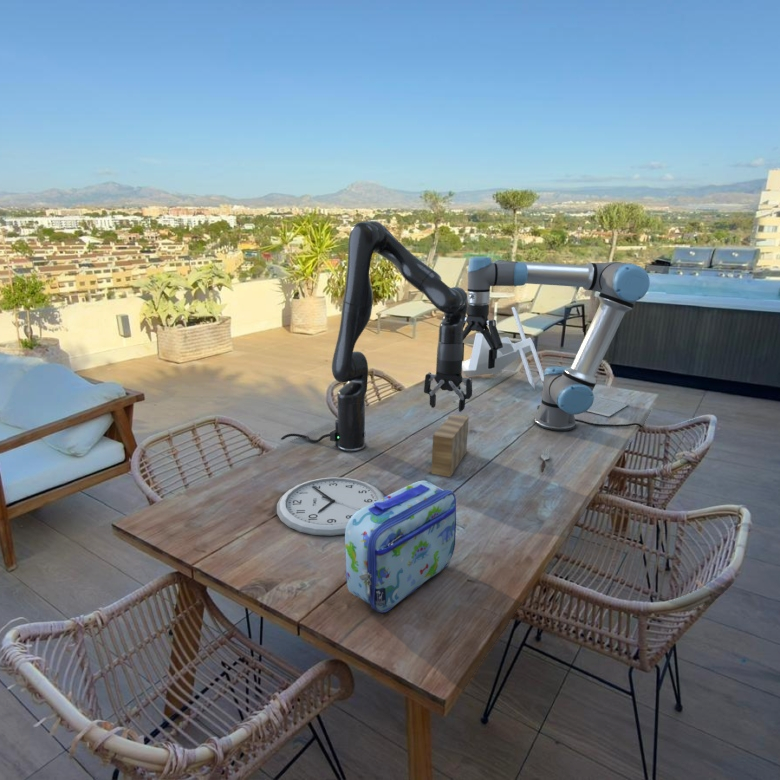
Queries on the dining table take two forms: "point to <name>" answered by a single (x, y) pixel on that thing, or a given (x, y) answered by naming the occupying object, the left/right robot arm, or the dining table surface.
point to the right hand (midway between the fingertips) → (475, 364)
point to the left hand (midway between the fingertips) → (446, 408)
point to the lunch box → (399, 543)
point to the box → (449, 445)
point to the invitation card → (605, 407)
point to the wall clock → (325, 504)
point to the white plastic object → (501, 355)
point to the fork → (544, 459)
